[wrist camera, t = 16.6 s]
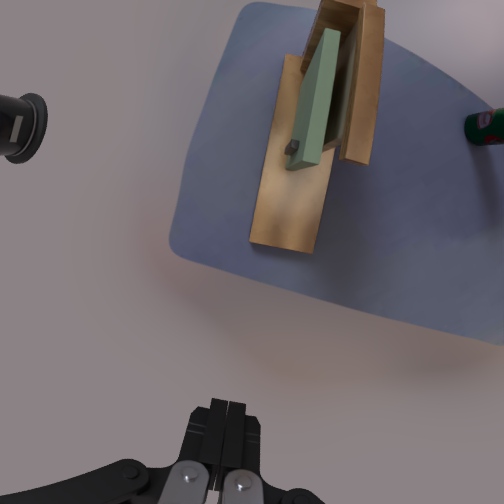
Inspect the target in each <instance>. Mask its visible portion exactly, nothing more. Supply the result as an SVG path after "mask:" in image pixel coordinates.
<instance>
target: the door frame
mask: <svg viewBox="0 0 504 504" xmlns="http://www.w3.org/2000/svg"><path fill="white" fill-rule="evenodd" d="M384 25H385V9H383V8H380V7H377V0H321V2H320V5H319V8H318V11H317V14H316V17H315V20H314V23H313V26H312V28H311V31H310V34H309V37H308V40H307V43H306V46H305V49H304V52H303V55H302V57H299V56H295V55H290V54H286V57H285V62H284V67H283V72H282V76H281V81H280V86H279V91H278V96H277V101H276V106H275V111H274V116H273V121H272V127H271V132H270V137H269V142H268V147H267V152H266V157H265V162H264V167H263V172H262V177H261V182H260V187H259V193H258V198H257V203H256V208H255V213H254V218H253V223H252V229H251V234H250V239H249V242H253V243H258V244H263V245H269V246H274V247H279V248H284V249H289V250H294V251H299V252H304V253H309V254H312V253H313V249H314V245H315V241H316V237H317V232H318V228H319V224H320V219H321V215H322V210H323V206H324V201H325V196H326V192H327V187H328V182H329V177H330V172H331V167H332V162H333V156H334V151H335V147H337V146H339V145H341V149H340V154H339V160H340V161H344V162H348V163H351V164H355V165H358V166H364V165H369V160H370V154H371V148H372V142H373V136H374V129H375V123H376V116H377V108H378V100H379V92H380V82H381V72H382V60H383V46H384ZM325 28H328V29H332V30H335V31H339V32H341V34H340V42H339V50H338V57H337V64H336V71H335V77H334V84H333V90H332V97H331V103H330V109H329V115H328V120H327V126H326V132H325V137H324V143H323V148H322V153H321V159H320V164H319V165H315V166H312V167H308V168H304V169H300V170H296V171H292V170H288V169H285V166H286V161H287V156H288V155H285V154H284V152H285V147H286V146H287V145H288V143H289V142H290V141H291V136H292V130H293V125H294V120H295V115H296V109H297V104H298V99H299V93H300V88H301V84H302V81H303V79H304V77H305V74H306V72H307V69H308V67H309V65H310V62H311V60H312V58H313V55H314V53H315V51H316V48H317V46H318V44H319V42H320V39H321V37H322V35H323V32H324V30H325Z"/></svg>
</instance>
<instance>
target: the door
mask: <svg viewBox="0 0 504 504" xmlns="http://www.w3.org/2000/svg"><path fill="white" fill-rule="evenodd" d="M340 34H341V32H339V31H335V30H332V29H328V28H325V30H324V32H323V35H322V37H321V39H320V42H319V44H318V46H317V48H316V51H315V53H314V55H313V58H312V60H311V62H310V65H309V67H308V69H307V72H306V74H305V77H304V79H303V81H302V84H301V88H300V93H299V99H298V104H297V109H296V115H295V120H294V125H293V130H292V136H291V141H290V142H289V143H288V145H287V146H286V147H285V152H284V154H285V155H288V156H287V161H286V166H285V169H288V170H292V171H296V170H300V169H304V168H308V167H312V166H315V165H319V164H320V159H321V153H322V148H323V143H324V137H325V132H326V126H327V120H328V115H329V109H330V103H331V97H332V90H333V84H334V77H335V71H336V64H337V57H338V50H339V42H340Z"/></svg>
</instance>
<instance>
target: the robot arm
mask: <svg viewBox="0 0 504 504" xmlns="http://www.w3.org/2000/svg"><path fill="white" fill-rule="evenodd" d="M37 126H38V110H37V107H36V105H35V104H34V103H33V102H32V101H30V100H23V99H18V98H14V97H9V96H4V95H0V155H10V156H19V155H21V154H23V153H24V152H25V151H26V150H27V149H28V148H29V146H30V145H31V143H32V141H33V139H34V137H35V134H36V131H37ZM227 406H228V401H226V400H220V399H215V398H212V400H211V405H210V409H208V408H203V407H199V406H198V407H197V408H196V409H195V410H194V411H193V412H192V413H191V415H190V419H189V423H188V426H187V429H186V433H185V436H184V440H183V443H182V447H181V450H180V454H179V457H178V459H177V461H176V462H175V463H174V464H172V465H170V466H168V467H164V468H146V466H145V465H143V464H142V463H141V462H139V461H137V460H134V459H122V460H119V461H117V462H114V463H112V464H109V465H107V466H104V467H101V468H99V469H96V470H93V471H91V472H88V473H85V474H82V475H79V476H76V477H73V478H70V479H67V480H64V481H60V482H57V483H54V484H51V485H47V486H43V487H40V488H35V489H31V490H27V491H22V492H18V493H13V494H8V495H2V496H0V504H204V503H205V502H206V498H207V494H208V490H213V486H214V482H215V478H216V482H215V488H214V491H219V499H218V503H217V504H325V503H324V502H323V501H321V500H320V499H319V498H318V497H317V496H316V495H314V494H313V493H312V492H310V491H309V490H306V489H302V488H295V489H291V490H289V491H285V490H282V489H278V488H275V487H273V486H271V485H269V484H268V483H266V482H265V481H264V480H263V479H262V477H261V475H260V428H261V426H260V424H259V422H258V420H257V418H256V417H255V416H248V415H245V411H246V404H243V403H238V402H232V401H230V402H229V406H228V410H227ZM226 413H227V415H226ZM216 474H217V475H216Z"/></svg>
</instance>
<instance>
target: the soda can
mask: <svg viewBox="0 0 504 504" xmlns="http://www.w3.org/2000/svg"><path fill="white" fill-rule="evenodd" d="M465 131H466V134H467V136H468V138H469V140H470V141H471V142H472V143H473V144H475V145H477V146H484V145H501V144H504V108H499V109H494V110H489V111H485V112H480V113H475V114H471V115H469V116H468V117H467V118H466V121H465Z"/></svg>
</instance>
